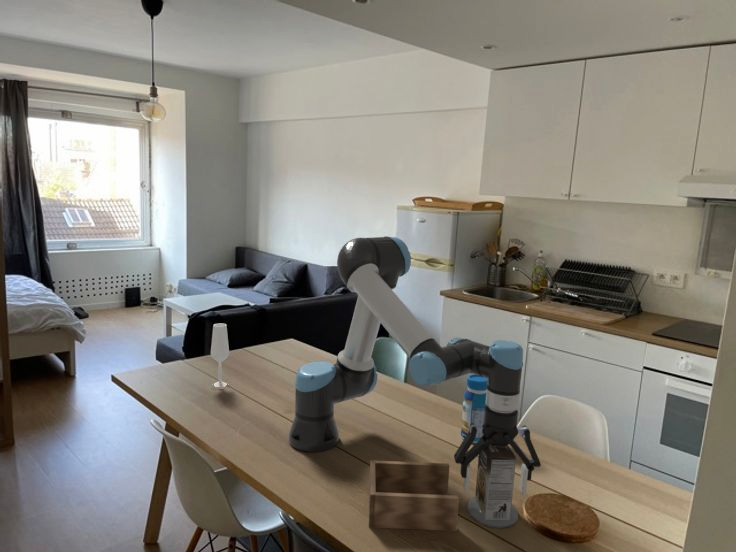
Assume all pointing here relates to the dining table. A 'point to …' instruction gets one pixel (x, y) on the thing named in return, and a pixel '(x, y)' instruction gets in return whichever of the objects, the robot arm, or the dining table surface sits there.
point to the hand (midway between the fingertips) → (494, 490)
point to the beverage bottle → (474, 405)
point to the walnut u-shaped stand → (411, 496)
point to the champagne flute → (219, 349)
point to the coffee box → (495, 482)
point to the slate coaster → (478, 516)
